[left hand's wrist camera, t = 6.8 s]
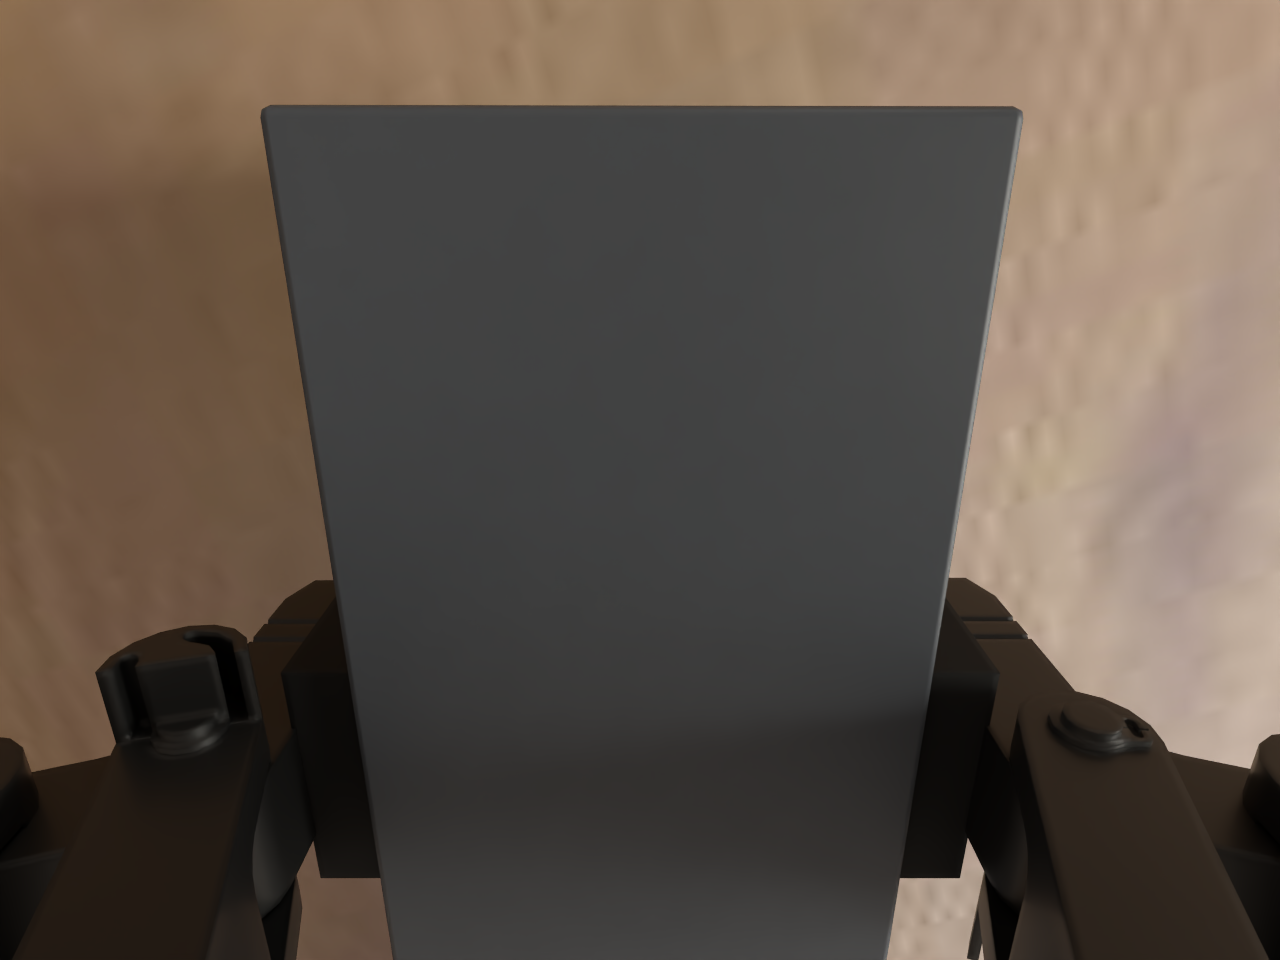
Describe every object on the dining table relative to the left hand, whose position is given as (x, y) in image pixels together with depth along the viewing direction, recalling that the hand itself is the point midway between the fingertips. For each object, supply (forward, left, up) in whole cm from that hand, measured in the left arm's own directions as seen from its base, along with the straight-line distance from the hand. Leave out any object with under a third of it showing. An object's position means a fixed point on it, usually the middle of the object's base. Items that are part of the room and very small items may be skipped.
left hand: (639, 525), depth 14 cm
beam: (+23, +5, -1) cm, 23 cm away
